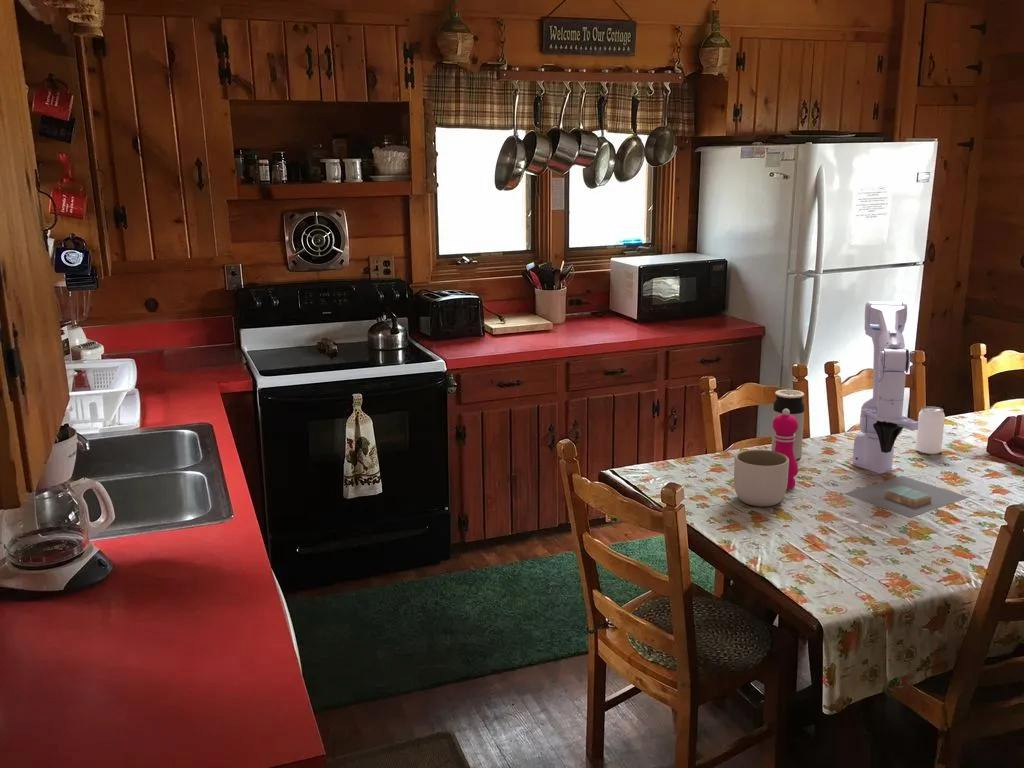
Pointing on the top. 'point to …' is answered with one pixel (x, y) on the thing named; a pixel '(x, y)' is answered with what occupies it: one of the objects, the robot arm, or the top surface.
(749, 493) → the planter
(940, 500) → the rubber mat
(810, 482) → the top surface
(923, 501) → the brown framed teal panel
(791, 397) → the travel mug
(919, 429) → the can
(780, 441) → the pepper mill
